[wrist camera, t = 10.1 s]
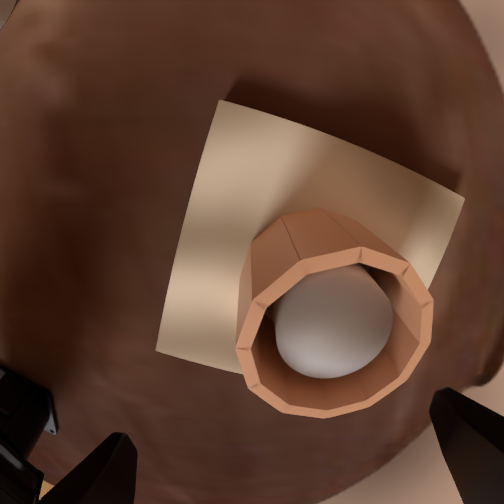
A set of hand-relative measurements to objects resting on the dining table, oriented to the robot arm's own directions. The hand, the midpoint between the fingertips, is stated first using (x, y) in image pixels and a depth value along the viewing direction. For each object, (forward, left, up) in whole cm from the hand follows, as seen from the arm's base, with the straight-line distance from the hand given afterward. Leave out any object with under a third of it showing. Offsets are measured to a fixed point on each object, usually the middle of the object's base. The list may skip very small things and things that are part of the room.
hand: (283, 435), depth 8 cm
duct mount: (+1, -2, -11) cm, 11 cm away
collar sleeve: (+1, -2, -9) cm, 10 cm away
